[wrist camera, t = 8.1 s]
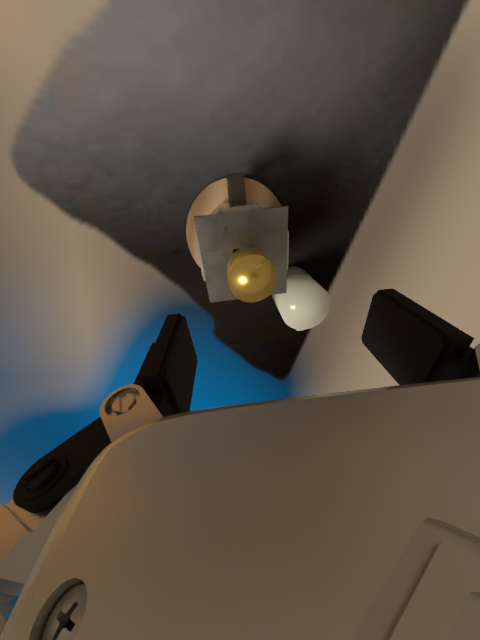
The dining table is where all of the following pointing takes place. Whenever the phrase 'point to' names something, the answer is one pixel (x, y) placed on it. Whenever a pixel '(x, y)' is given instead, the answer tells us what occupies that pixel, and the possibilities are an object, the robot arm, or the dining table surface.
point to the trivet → (218, 195)
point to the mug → (302, 300)
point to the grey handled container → (240, 238)
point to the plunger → (250, 274)
